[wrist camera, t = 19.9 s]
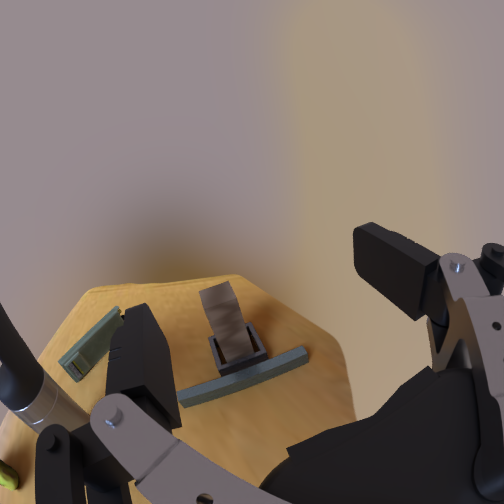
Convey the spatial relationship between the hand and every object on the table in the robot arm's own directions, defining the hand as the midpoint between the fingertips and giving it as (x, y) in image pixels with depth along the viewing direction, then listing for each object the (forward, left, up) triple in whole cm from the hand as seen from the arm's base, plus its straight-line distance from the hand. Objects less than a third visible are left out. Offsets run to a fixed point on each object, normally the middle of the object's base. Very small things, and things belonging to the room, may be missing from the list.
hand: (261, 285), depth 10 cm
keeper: (-10, +23, -32) cm, 41 cm away
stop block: (-9, +25, -32) cm, 42 cm away
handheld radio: (-41, +30, -32) cm, 60 cm away
